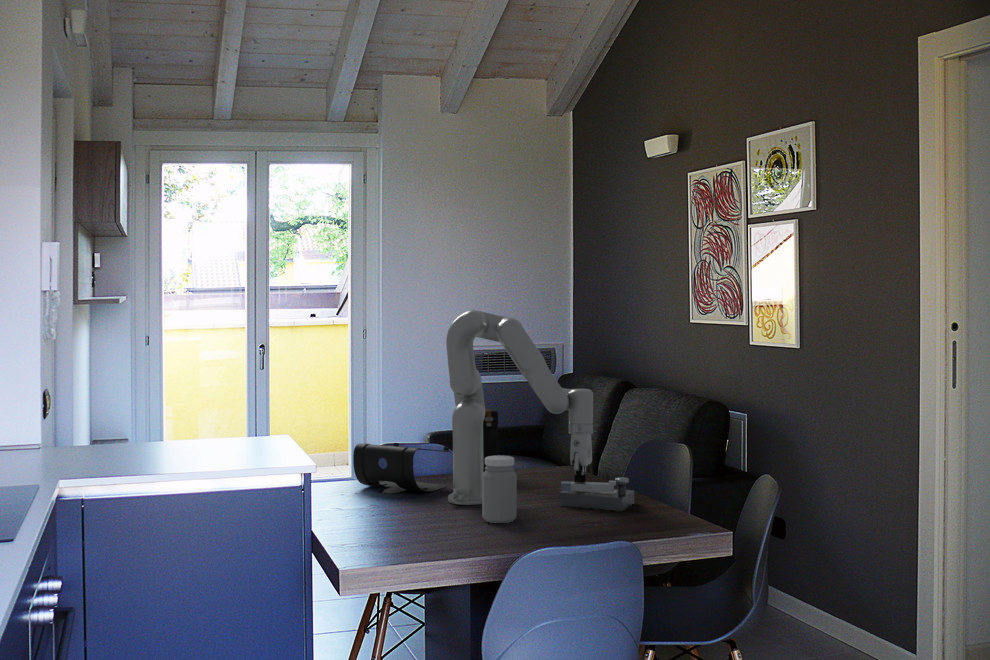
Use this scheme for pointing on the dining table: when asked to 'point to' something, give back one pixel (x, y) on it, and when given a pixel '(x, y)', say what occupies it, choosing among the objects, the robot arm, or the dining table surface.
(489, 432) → the voltmeter
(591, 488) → the swing arm
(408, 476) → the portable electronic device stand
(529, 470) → the dining table surface
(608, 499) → the chassis
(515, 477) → the jar
